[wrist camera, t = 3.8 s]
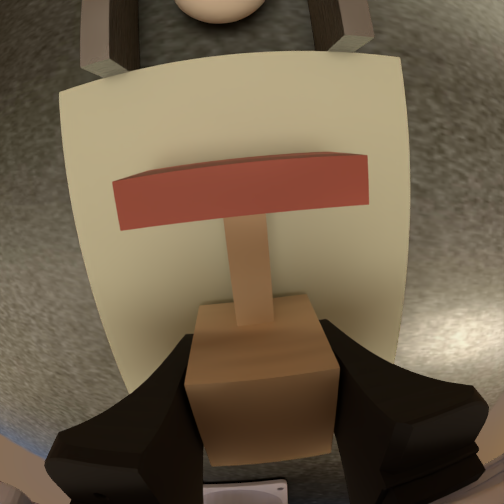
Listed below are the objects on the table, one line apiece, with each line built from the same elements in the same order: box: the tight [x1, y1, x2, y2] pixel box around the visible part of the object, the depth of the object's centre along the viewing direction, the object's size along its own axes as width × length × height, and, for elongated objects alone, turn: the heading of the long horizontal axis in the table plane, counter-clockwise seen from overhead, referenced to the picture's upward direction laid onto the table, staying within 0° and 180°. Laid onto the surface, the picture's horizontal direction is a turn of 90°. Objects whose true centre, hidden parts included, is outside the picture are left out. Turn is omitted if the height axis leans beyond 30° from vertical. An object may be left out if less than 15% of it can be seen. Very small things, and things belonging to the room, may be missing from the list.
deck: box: [59, 51, 410, 394], centre depth 13 cm, size 18×13×2 cm
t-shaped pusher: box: [112, 152, 369, 466], centre depth 9 cm, size 9×6×4 cm, turn 5°
